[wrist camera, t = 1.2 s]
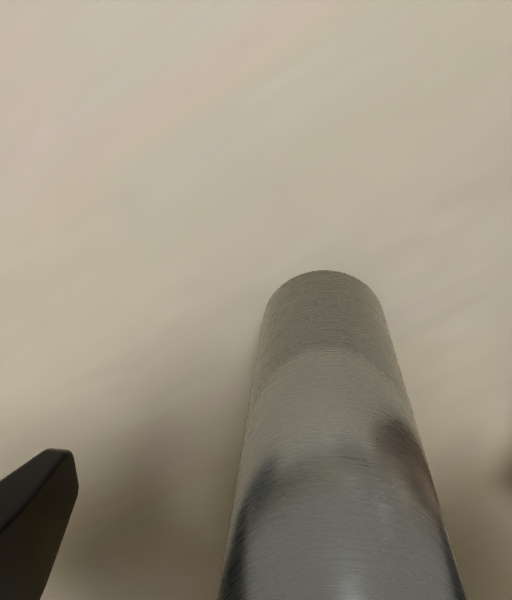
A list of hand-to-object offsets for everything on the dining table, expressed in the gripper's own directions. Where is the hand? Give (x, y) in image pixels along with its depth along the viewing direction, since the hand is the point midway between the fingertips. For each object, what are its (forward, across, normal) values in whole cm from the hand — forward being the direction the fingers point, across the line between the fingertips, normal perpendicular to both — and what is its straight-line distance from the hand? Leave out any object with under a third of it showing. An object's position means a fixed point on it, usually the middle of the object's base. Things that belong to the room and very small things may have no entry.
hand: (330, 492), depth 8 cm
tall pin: (+6, 0, 0) cm, 6 cm away
